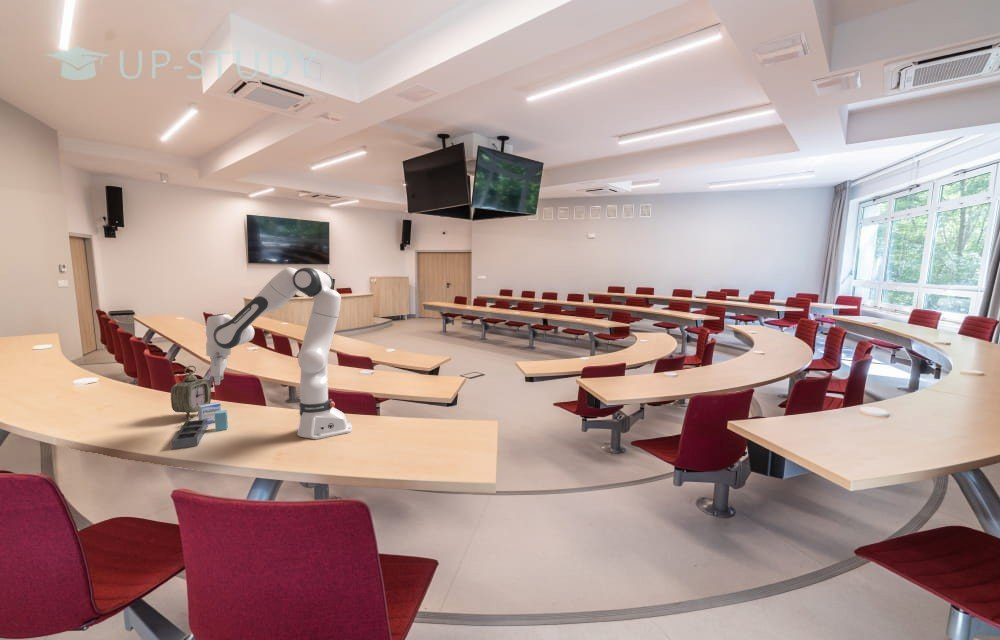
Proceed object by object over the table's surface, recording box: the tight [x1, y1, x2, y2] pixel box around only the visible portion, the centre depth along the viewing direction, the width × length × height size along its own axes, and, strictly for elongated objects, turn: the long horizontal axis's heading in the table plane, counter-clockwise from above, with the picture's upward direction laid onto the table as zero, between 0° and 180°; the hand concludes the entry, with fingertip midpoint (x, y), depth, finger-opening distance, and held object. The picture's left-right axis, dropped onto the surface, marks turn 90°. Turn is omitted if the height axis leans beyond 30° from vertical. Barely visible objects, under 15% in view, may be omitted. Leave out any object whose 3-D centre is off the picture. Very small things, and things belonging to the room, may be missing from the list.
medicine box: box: [197, 401, 222, 425], centre depth 192 cm, size 8×4×9 cm, turn 143°
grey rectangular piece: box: [171, 419, 209, 450], centre depth 174 cm, size 8×24×4 cm, turn 27°
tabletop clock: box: [170, 365, 212, 421], centre depth 198 cm, size 14×9×25 cm, turn 179°
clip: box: [214, 409, 229, 432], centre depth 184 cm, size 4×4×8 cm
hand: (219, 382), depth 181 cm, fingers open, 8 cm apart
